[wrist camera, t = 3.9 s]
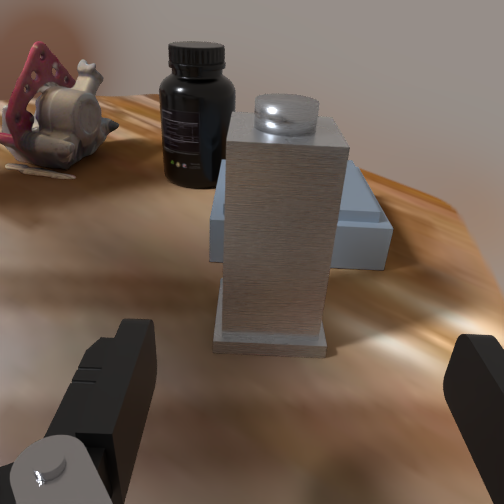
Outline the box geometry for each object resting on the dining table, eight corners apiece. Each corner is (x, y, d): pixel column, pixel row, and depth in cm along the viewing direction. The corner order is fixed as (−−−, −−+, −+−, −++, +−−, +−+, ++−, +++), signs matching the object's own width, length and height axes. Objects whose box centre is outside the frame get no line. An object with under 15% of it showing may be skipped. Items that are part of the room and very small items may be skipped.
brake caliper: (35, 114, 53) (78, 27, 46) (108, 180, 54) (160, 104, 48) (-47, 139, 43) (-7, 35, 37) (44, 218, 45) (98, 131, 38)
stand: (383, 270, 31) (396, 218, 29) (209, 261, 31) (209, 208, 29) (352, 200, 42) (359, 158, 40) (221, 193, 42) (222, 150, 40)
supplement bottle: (189, 160, 49) (187, 37, 43) (245, 173, 46) (252, 45, 40) (148, 180, 44) (140, 42, 38) (209, 196, 41) (211, 51, 35)
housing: (324, 358, 24) (366, 120, 18) (213, 353, 24) (215, 112, 17) (313, 293, 29) (342, 91, 23) (220, 288, 29) (225, 84, 22)
